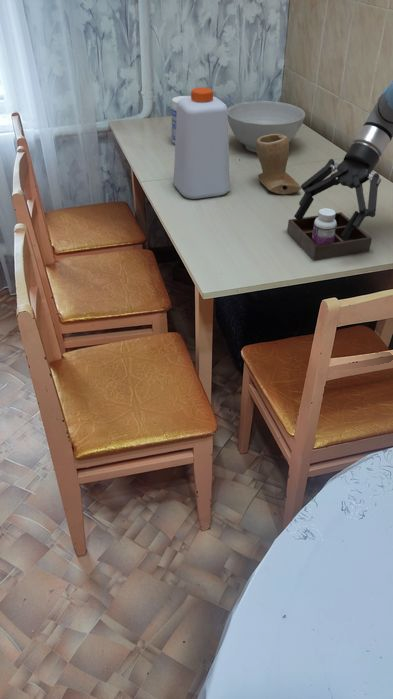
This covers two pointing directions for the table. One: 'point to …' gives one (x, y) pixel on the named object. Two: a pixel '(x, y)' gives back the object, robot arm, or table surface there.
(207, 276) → the table surface
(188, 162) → the plastic bottle
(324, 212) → the pill bottle
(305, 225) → the grid
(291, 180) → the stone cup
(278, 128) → the decorative bowl
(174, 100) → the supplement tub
